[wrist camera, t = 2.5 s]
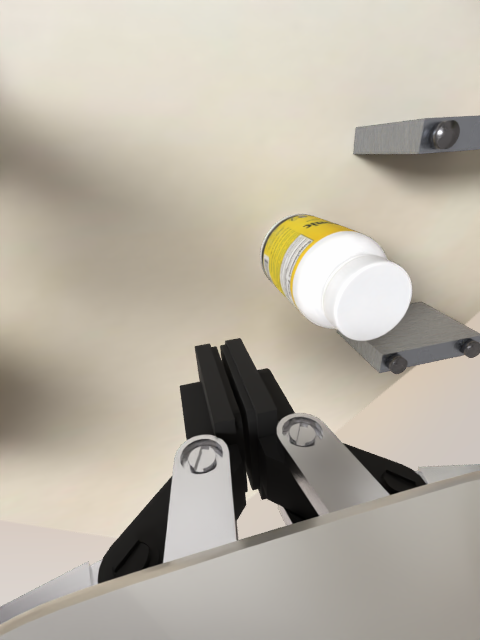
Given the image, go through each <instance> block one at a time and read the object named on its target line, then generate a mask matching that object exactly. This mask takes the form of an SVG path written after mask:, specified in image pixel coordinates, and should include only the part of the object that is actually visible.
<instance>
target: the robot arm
mask: <svg viewBox="0 0 480 640" xmlns="http://www.w3.org/2000/svg"><path fill="white" fill-rule="evenodd" d="M220 348H221V358H222V361H221V358H220V355H219V353H218V350H217V347H211V345H210V344H204V345H199V346H195V352H196V359H197V365H198V372H199V379H200V382H196V383H191V384H186V385H181V386H180V392H181V400H182V407H183V415H184V423H185V431H186V438H187V441H185V442H184V443H183V444H182V445H181V446H180V447H179V449H178V450H177V452H176V455H175V458H174V466H173V476H172V477H171V478H170V479H169V480H168V481H167V482H166V484H165V485H164V486H163V487H162V488H161V489H160V491H159V492H158V493H157V494H156V495H155V496H154V497H153V499H152V500H151V501H150V502H149V503H148V504H147V505H146V507H145V508H144V509H143V510H142V511H141V512H140V514H139V515H138V516H137V517H136V518H135V519H134V520H133V522H132V523H131V524H130V525H129V526H128V527H127V528H126V530H125V531H124V532H123V533H122V534H121V535H120V537H119V538H118V539H117V540H116V541H115V542H114V543H113V545H112V546H111V547H110V549H109V550H108V551H107V553H106V554H105V556H104V557H103V559H102V560H100V561H98V562H96V563H94V564H92V565H90V564H89V562H86V563H84V564H82V565H80V566H78V567H76V568H74V569H72V570H71V571H69V572H67V573H65V574H63V575H61V576H59V577H57V578H55V579H53V580H51V581H49V582H47V583H45V584H43V585H42V586H40V587H38V588H36V589H34V590H32V591H30V592H28V593H26V594H24V595H22V596H20V597H18V598H17V599H14V600H13V601H11V602H9V603H7V604H5V605H3V606H1V607H0V640H480V464H475V465H452V466H428V467H418V471H413V470H412V469H410V468H408V467H406V466H404V465H402V464H399V463H397V462H394V461H391V460H388V459H386V458H383V457H380V456H377V455H375V454H371V453H369V452H366V451H364V450H361V449H358V448H355V447H352V446H350V445H347V444H344V443H342V442H341V441H340V440H339V439H338V438H337V436H336V435H335V434H334V433H333V432H332V431H331V430H330V429H329V428H328V427H327V425H326V424H325V423H324V422H322V421H321V420H320V419H319V418H317V417H315V416H313V415H310V414H306V413H295V412H294V411H293V409H292V407H291V406H290V404H289V402H288V400H287V399H286V397H285V395H284V393H283V392H282V390H281V388H280V387H279V385H278V383H277V381H276V380H275V378H274V376H273V374H272V373H271V371H270V370H269V369H268V368H266V369H261V370H257V369H256V367H255V365H254V363H253V362H252V360H251V358H250V356H249V354H248V352H247V350H246V348H245V346H244V344H243V342H242V340H241V339H240V338H238V339H233V340H227V341H225V345H221V346H220ZM246 472H247V475H248V478H249V481H250V485H251V488H252V490H256V489H258V490H259V493H260V496H261V499H262V500H263V499H268V500H270V501H272V502H274V503H276V504H278V509H279V512H280V514H281V516H282V518H283V520H284V522H285V524H286V525H287V526H285V527H282V528H278V529H274V530H271V531H268V532H265V533H261V534H258V535H254V536H251V537H248V538H244V539H241V540H238V531H237V519H238V518H239V516H240V514H241V512H242V511H243V509H244V508H245V506H246V498H245V492H247V491H248V489H247V476H246Z"/></svg>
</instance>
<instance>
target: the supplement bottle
mask: <svg viewBox="0 0 480 640" xmlns="http://www.w3.org/2000/svg"><path fill="white" fill-rule="evenodd" d="M260 260H261V266H262V269H263V271H264V273H265V275H266V276H267V278H268V279H269V280H270V281H271V282H272V283H273V284H274V285H275V287H276V288H277V289H278V290H279V291H280V292H281V293H282V294H283V295H284V296H285V297H286V298H287V299H288V300H289V301H290V302H291V303H292V304H293V305H294V306H295V307H296V308H297V309H298V310H299V311H300V312H301V313H302V314H303V315H304V316H305V317H306V318H307V319H308V320H309V321H311V322H312V323H314V324H316V325H318V326H321V327H324V328H333V329H337V330H338V331H340V332H341V333H342V334H343V335H344V336H346V337H348V338H350V339H353V340H357V341H367V340H372V339H375V338H378V337H380V336H382V335H384V334H386V333H387V332H389V331H390V330H391V329H393V328H394V327H395V326H396V325H397V324H398V323H399V321H400V320H401V319H402V318H403V316H404V315H405V313H406V311H407V309H408V307H409V304H410V301H411V297H412V284H411V280H410V277H409V275H408V273H407V272H406V271H405V270H404V269H403V268H402V267H401V266H400V265H398V264H396V263H394V262H392V261H389V260H387V257H386V254H385V252H384V251H383V249H382V248H381V246H380V245H379V244H378V243H377V242H376V241H374V240H373V239H372V238H370V237H368V236H366V235H364V234H362V233H359V232H356V231H354V230H351V229H348V228H346V227H343V226H340V225H338V224H334V223H332V222H329V221H326V220H323V219H320V218H317V217H314V216H311V215H306V214H295V215H290V216H287V217H285V218H283V219H281V220H280V221H278V222H277V223H276V224H275V225H274V226H273V227H272V228H271V229H270V230H269V231H268V233H267V234H266V236H265V238H264V240H263V243H262V246H261V251H260Z"/></svg>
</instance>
